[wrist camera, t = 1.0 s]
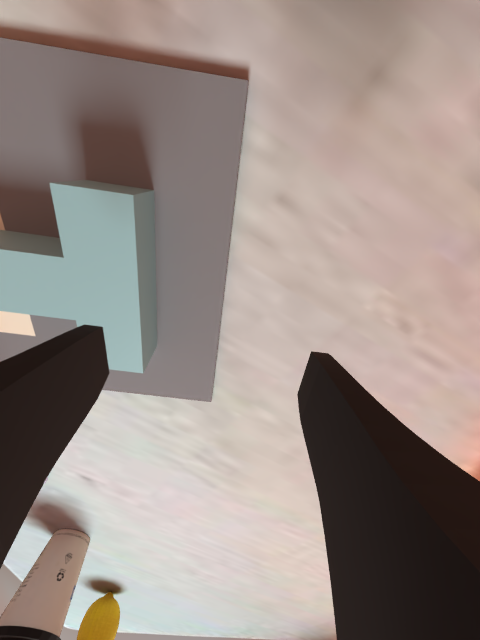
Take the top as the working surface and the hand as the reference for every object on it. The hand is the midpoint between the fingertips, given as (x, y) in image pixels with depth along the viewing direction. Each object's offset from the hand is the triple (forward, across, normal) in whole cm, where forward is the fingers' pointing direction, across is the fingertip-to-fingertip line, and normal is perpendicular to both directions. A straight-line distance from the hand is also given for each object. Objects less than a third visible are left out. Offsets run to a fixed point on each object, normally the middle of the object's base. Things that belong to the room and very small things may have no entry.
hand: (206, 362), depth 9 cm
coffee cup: (+9, +16, +38) cm, 43 cm away
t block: (+8, +9, 0) cm, 12 cm away
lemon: (+9, +13, +58) cm, 60 cm away
